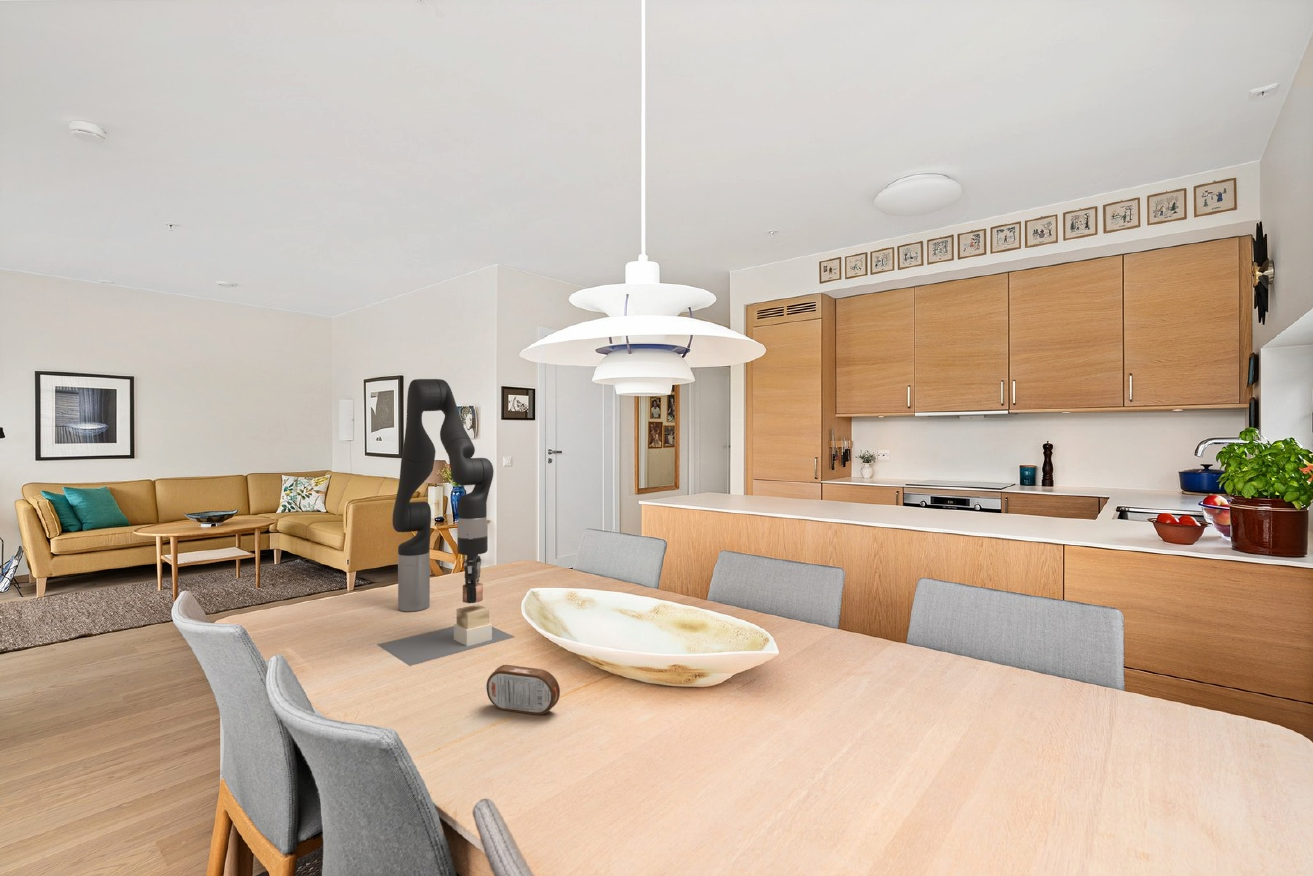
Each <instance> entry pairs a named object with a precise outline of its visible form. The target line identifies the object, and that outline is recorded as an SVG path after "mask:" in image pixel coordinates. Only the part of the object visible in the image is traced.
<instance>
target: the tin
mask: <svg viewBox="0 0 1313 876" xmlns="http://www.w3.org/2000/svg"><path fill="white" fill-rule="evenodd" d="M486 693H487V698H488V699H489V701H490V703H491V704H493V706H495V707H496V708H498V709H500V710H501V711H507V712H514V713H515V712H516V713H522V714H528V715H534V716H535V715H536V716H542V715H545V714H547V713H548V712H549V711H551V710H552V708H554V707H555V706H556V704H558V701H559V699H560V696H561V695H560V694H561V688H560V685H559V683H558V681H557V679H556V678H555V676H554V675H553V674H552V673H551V672H549V671H547V670H545V669H542V668H536V667H527V666H521V665H520V666H519V665H512V664H504V665H500V666H498V667H497V668H495V670H494V671H493V672H492V673H491V674H490V675H489V677H488V678H487V680H486Z"/></svg>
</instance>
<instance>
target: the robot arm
mask: <svg viewBox="0 0 1313 876" xmlns="http://www.w3.org/2000/svg"><path fill="white" fill-rule="evenodd" d="M439 411H441V412H442V413H443V415H444V418H443V421H442V424H441V428H440V430H439V437H440V439H439V440H440V443H441V444H442V446H443V448H444V450H445V451H446V452H445V453H446V454H447V455H448V460H449V467H450V477H451V479H452V481H453V482H455V484H457V485H459V486H474V487H473V488H472V491H471V492H469V493H465V494H462V495H461V496H459V498H458V506H457V507H458V514H457V515H458V519H457V527H456V528H457V532H456V533H457V536H456V537H457V540H456V541H457V544H456V545H457V546H456V547H457V548H456V549H457V550H456V551H457V553H458V554H459V555H460V556H461V555H462V556H466V559H464V561H463V568H464V582H465V583H464V584H465V588H466V589H467V603H466V604H475V602H476V587H477V583H480V577H481V565H482V558H481V556H480V555H483V554H486V553H487V552H488V544H489V543H488V537H489V535H488V533H489V532H488V526H489V525H488V520H487V519H488V518H487V516H488V515H487V512H488V511H487V503H488V502H487V501H488V497H489V492H490V489H491V487H492V486H491V485H492V482H493V478H494V467H493V463H492V462H491V460H489V459H488V458H487V457H473V456H474V454H475V452H476V449H475V445H474V443H473V441H472V440H471V437H470V436H469V434H468V433H467V430H466V429H465V426H464V424H463V422H462V421H463V420H462V419H461V416H460V412H459V408H458V406H457V402H456V400H455V397H454V394H453V392H452V388H451V387H450V385H449V383H448V382H447V381H446V380H445V379H441V378H416V379H413V380H411V381H410V382H409V385H408V389H407V397H406V420H405V421H406V422H405V431H404V432H405V433H404V440H403V445H402V446H403V447H402V452H401V459H400V470H399V480H398V487H397V492H396V497H395V500H394V506H393V511H392V518H391V519H392V526H393V527H392V528H393V529H394V531H395V532H397V533H411V532H416V534H415V535H414V536H413V537H411V538H410V539H408V540H406V541H403V542H402V543H400V544H398V546H397V547H398V548H397V581H398V582H397V595H398V596H397V601H398V603H397V609H398V611H401V612H417V611H423V610H426V609H428V608H429V607H430V606H431V604H430V603H431V600H430V598H431V597H430V596H431V595H430V594H431V590H430V588H431V583H430V582H431V581H430V580H431V576H430V575H431V570H430V569H431V568H430V567H431V566H430V564H431V563H430V562H431V561H430V557H431V556H430V553H431V552H430V546H431V525H432V524H431V523H432V510H431V505H430V504H429V502H427V501H424V500H423V501H411V499H412V498H413V495H414V494H415V493H416V492H417V491H418V489H419V488H420V487H421V486H422V485H423V484H424V483H425V481H427V480H428V478H429V477H430V476H431V475H432V472H433V470H434V466H435V459H436V452H437V451H436V448H435V445H434V443H433V441H432V439H431V438H430V436H429V435H428V432H427V431H426V430H425V428H424V425H423V413H424V412H439Z"/></svg>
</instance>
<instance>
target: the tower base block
mask: <svg viewBox="0 0 1313 876" xmlns="http://www.w3.org/2000/svg"><path fill="white" fill-rule="evenodd" d="M453 626H454V640H455V641H457V642H459V643H461V644H463V645H465V646H470V645H474V644H478V643H481V642H485V641H489V640H492V627H493V624H492V623H491V622H489V624H488V625H484V626H480V627H476V628H472V629H465V628H463V627H461V626H459V625H457V623H454V624H453Z"/></svg>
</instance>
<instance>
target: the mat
mask: <svg viewBox="0 0 1313 876" xmlns="http://www.w3.org/2000/svg"><path fill="white" fill-rule="evenodd" d="M513 638H516V636H515V635H513V634H510V633H508V632H506V631H503V630H501V629H498V628H496V627H494V626H492V640H489V641H485V642H481V643H478V644H474V645H470V646H465V645H463V644H461V643H459V642H457V641H455V640H454V625H453V626H448V627H444V628H441V629H440V628H439V629H436V630H433V631H428V632H424V633H423V632H422V633H419V634H416V635H411V636H407V637H403V638H399V639H394V640H390V641H386V642H381V643H377V644H376V645H377V646H378V647H380V648H381V649H383V650H384V651H386V652H387V653H389V654H390V655H392V656H393V657H395V658H397V659H399V660H400V661H402V662H403V663H404V664H406V665H408V666H409V667H411V666H414V665H419V664H422V663H425V662H430V661H434V660H438V659H441V658H445V657H448V656H452V655H455V654H459V653H462V652H466V651H470V650H473V649H476V648H482V647H484V646H487V645H491V644H496V643H499V642H503V641H506V640H510V639H513Z"/></svg>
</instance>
